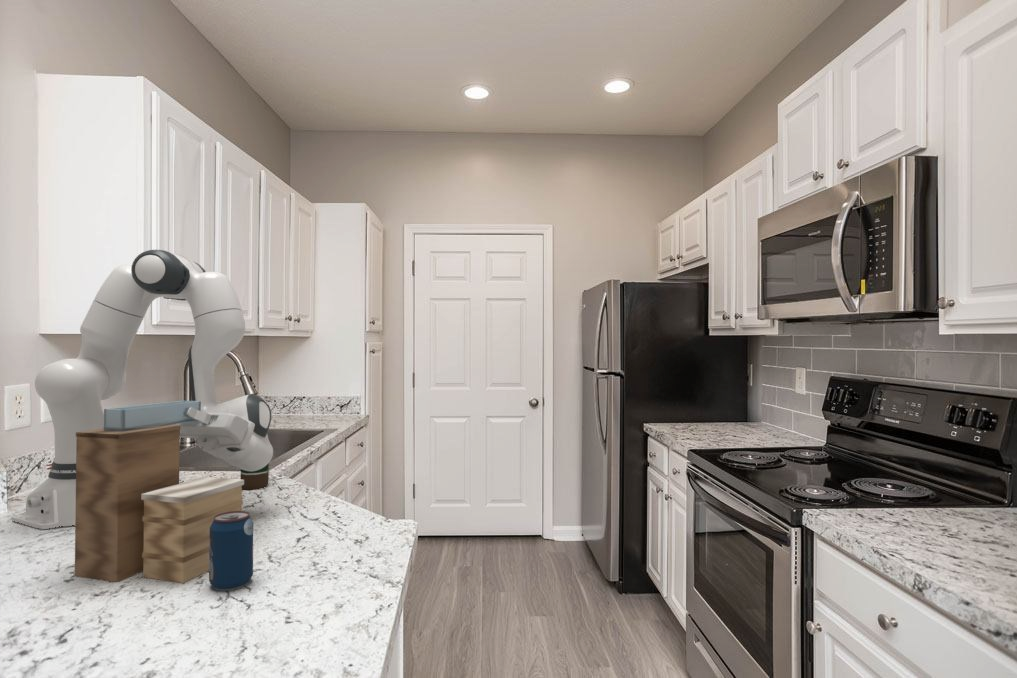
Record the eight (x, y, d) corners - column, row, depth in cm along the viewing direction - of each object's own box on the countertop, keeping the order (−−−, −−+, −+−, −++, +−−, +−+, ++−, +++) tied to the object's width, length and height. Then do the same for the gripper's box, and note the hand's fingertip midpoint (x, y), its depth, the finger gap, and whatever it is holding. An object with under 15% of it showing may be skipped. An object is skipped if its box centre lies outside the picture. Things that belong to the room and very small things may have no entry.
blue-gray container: (103, 430, 106) (104, 409, 106) (183, 419, 124) (183, 400, 124) (122, 431, 105) (122, 409, 105) (200, 419, 122) (200, 401, 122)
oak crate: (140, 577, 103) (141, 493, 103) (204, 550, 117) (205, 476, 117) (183, 583, 100) (183, 497, 100) (243, 555, 114) (244, 479, 114)
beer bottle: (258, 491, 166) (258, 408, 166) (234, 489, 167) (235, 407, 168) (274, 484, 174) (274, 405, 174) (251, 483, 175) (252, 405, 176)
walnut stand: (73, 575, 104) (75, 432, 104) (138, 551, 116) (139, 423, 117) (117, 582, 101) (119, 434, 101) (179, 556, 113) (180, 425, 114)
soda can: (261, 579, 102) (262, 511, 102) (231, 594, 96) (231, 522, 96) (231, 574, 104) (231, 508, 105) (199, 589, 98) (200, 518, 98)
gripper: (188, 420, 135) (143, 395, 123) (261, 423, 129) (221, 397, 118) (177, 446, 132) (129, 422, 120) (251, 450, 126) (208, 426, 114)
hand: (175, 410), depth 119 cm, fingers closed on blue-gray container, 4 cm apart
